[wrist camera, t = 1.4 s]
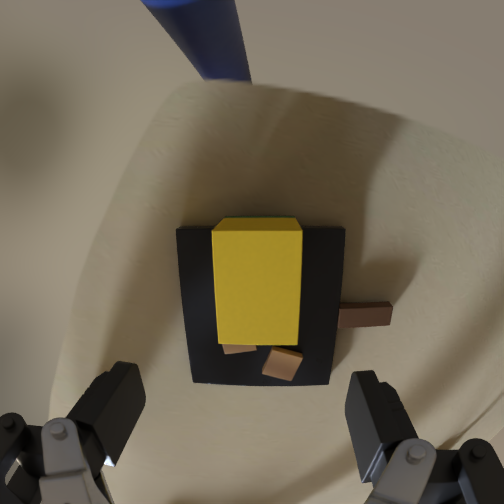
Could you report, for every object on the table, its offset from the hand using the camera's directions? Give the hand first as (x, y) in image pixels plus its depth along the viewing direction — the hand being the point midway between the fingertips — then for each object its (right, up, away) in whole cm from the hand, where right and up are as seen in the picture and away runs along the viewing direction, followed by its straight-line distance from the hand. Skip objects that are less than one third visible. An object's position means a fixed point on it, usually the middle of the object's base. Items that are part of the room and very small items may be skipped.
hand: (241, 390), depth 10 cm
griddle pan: (+4, 0, +17) cm, 17 cm away
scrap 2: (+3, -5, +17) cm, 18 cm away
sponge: (+1, +4, +15) cm, 15 cm away
